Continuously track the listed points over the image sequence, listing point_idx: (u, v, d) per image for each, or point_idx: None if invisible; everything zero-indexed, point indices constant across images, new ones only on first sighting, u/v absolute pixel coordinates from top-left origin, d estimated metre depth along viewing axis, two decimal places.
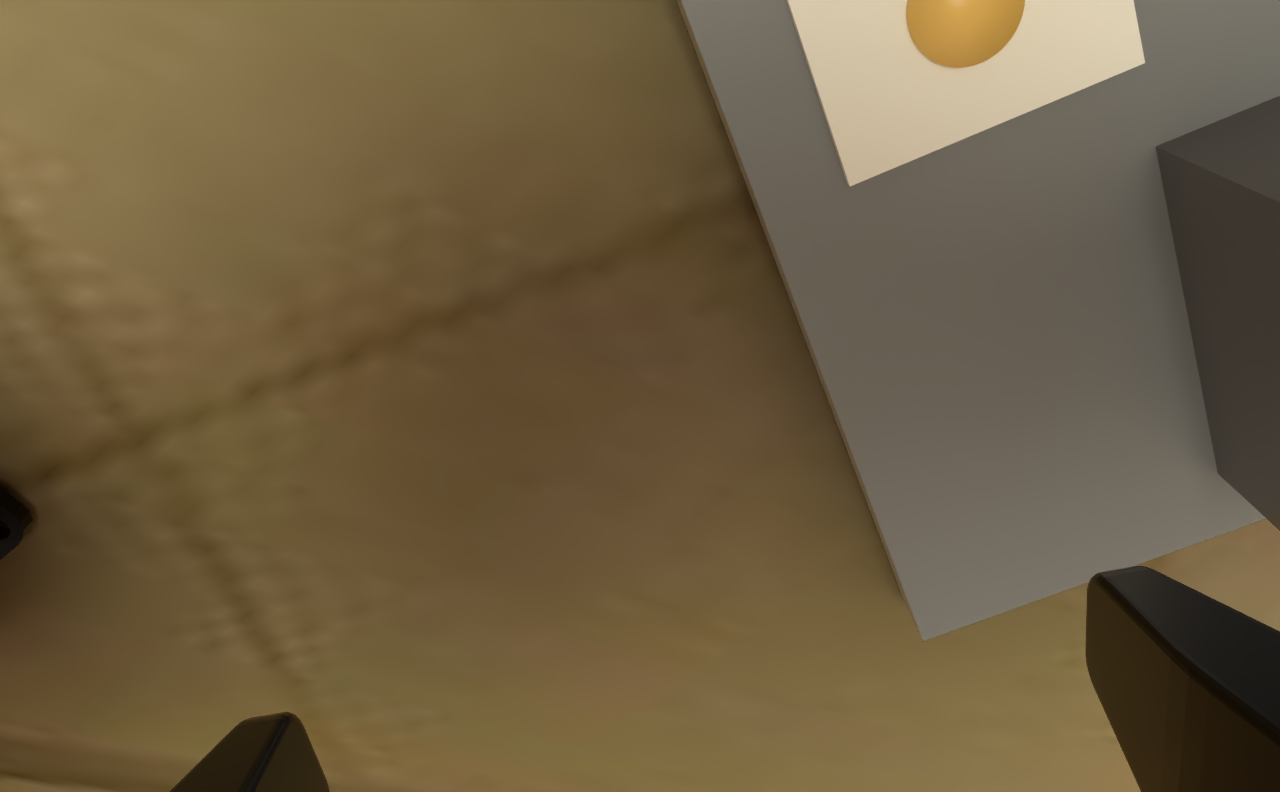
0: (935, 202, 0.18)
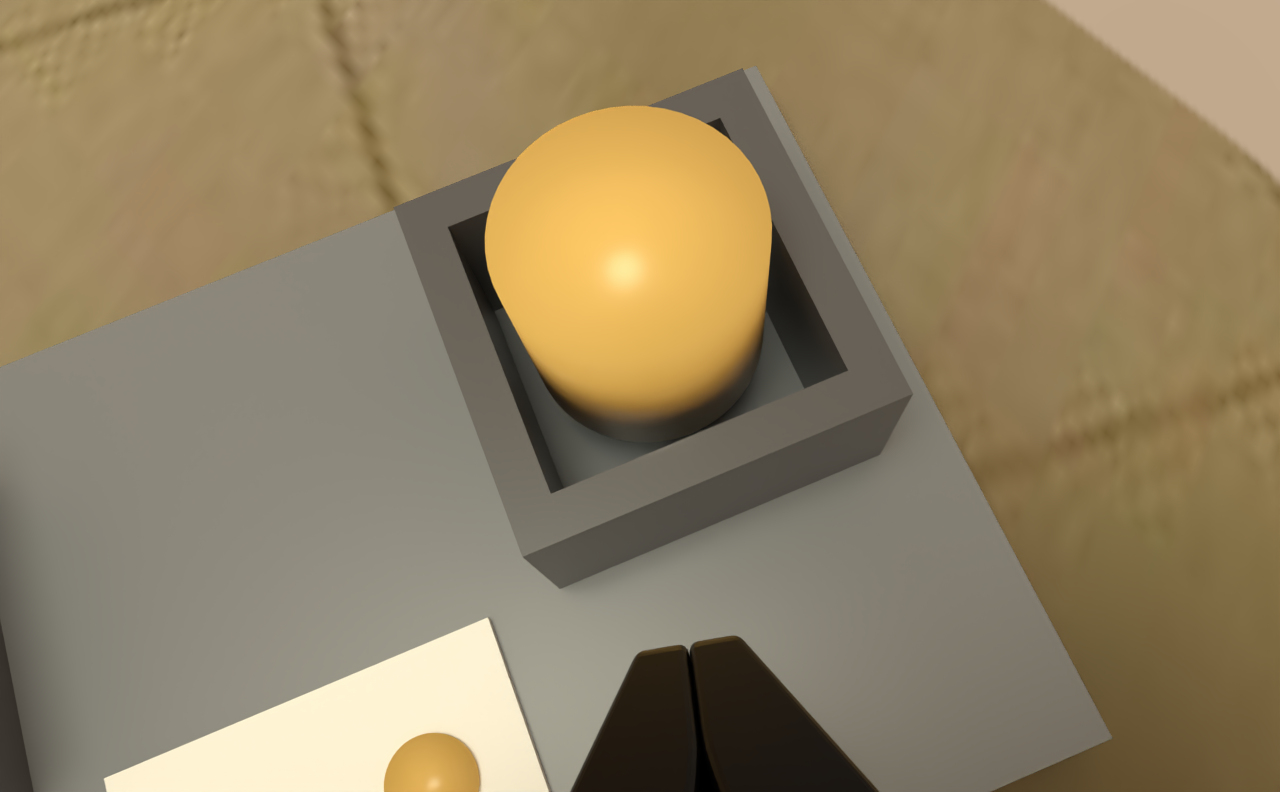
0: None
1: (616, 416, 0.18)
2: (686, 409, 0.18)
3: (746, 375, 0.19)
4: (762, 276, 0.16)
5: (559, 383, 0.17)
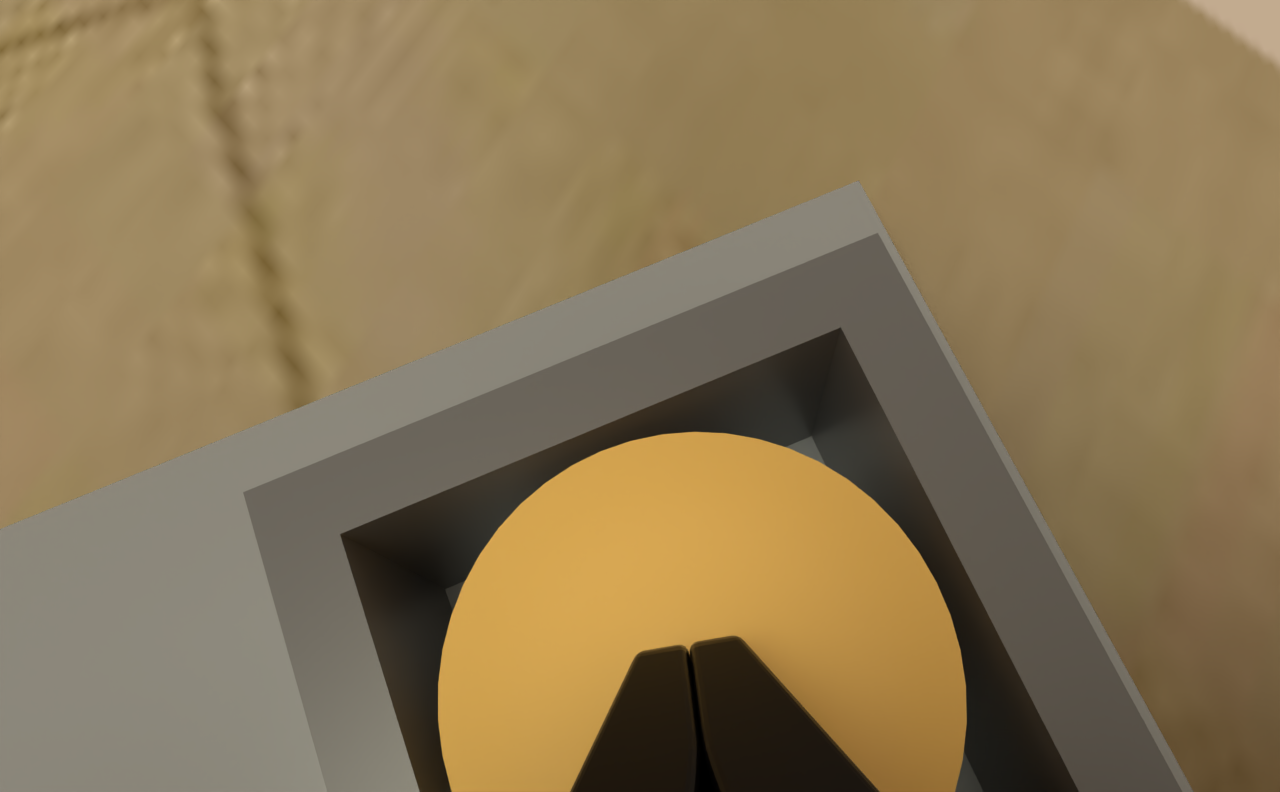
0: None
1: None
2: None
3: None
4: (952, 790, 0.08)
5: None
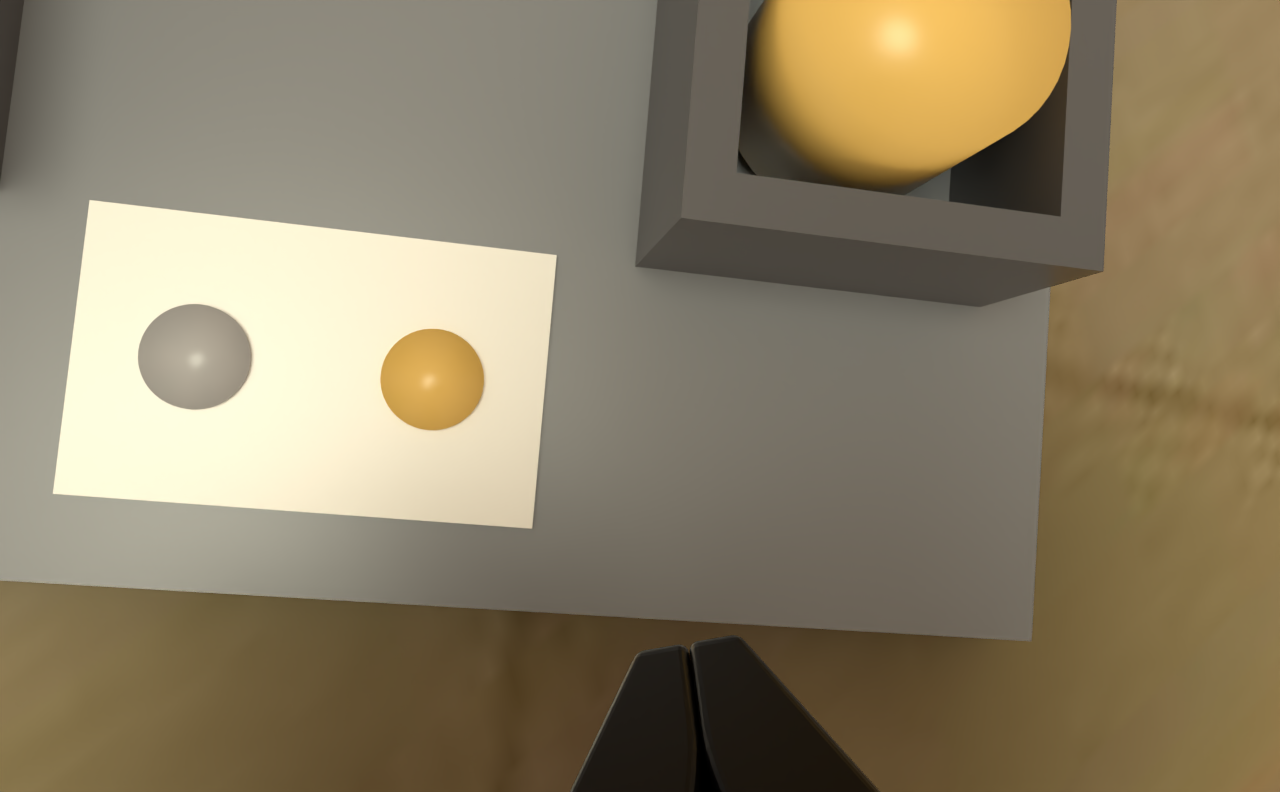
0: (587, 460, 0.19)
1: (796, 164, 0.18)
2: None
3: None
4: (1026, 120, 0.16)
5: (773, 106, 0.17)
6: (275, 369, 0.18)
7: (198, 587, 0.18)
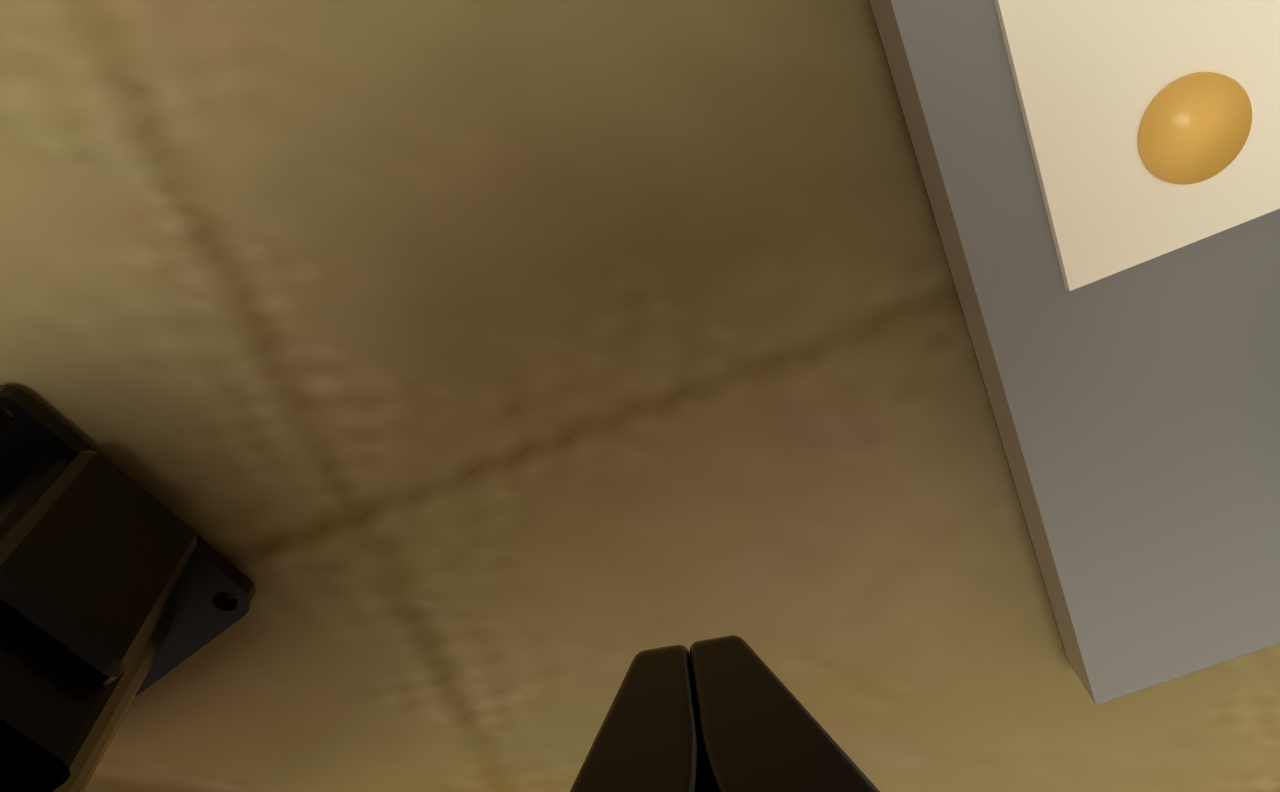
0: (1146, 304, 0.19)
1: None
2: None
3: None
4: None
5: None
6: None
7: (899, 13, 0.16)
